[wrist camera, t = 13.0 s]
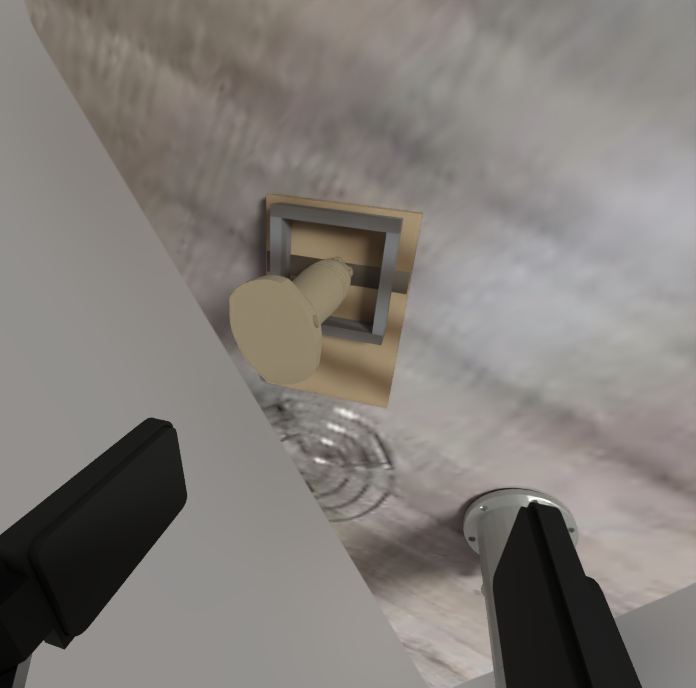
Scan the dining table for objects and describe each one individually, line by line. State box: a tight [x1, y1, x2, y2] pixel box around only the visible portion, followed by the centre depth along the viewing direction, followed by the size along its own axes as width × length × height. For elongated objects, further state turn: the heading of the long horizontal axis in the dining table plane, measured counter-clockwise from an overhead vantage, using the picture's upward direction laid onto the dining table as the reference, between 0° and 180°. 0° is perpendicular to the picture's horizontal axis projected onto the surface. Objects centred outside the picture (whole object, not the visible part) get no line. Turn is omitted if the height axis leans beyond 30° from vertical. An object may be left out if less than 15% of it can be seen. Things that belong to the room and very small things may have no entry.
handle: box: [229, 257, 353, 385], centre depth 26 cm, size 5×6×15 cm
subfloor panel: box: [266, 194, 423, 408], centre depth 34 cm, size 20×14×4 cm
